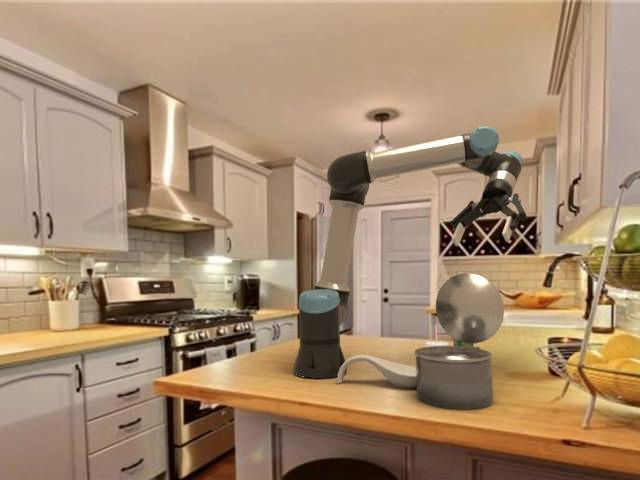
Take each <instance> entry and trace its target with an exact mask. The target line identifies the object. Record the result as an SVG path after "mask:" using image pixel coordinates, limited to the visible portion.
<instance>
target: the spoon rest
mask: <svg viewBox="0 0 640 480" xmlns="http://www.w3.org/2000/svg"><path fill="white" fill-rule="evenodd" d="M361 361H362V362H367V363H369V364H371V365H372V366H374V367H375V368H376V369H377V370H378V371H379V372H380V373H381V374H382V375H383V376H384V377H385V378H386V379H387V380H388V381H389V382H390V383H391V384H392V385H393V386H394V387H398V388H403V389H414V388H417V378H416V365H408V364H403V363H398V362H392V361H390V360H387V359H384V358H380V357H378V356H377V357H376V356H373V355H370V354H369V355H368V354H357V355H353V356H351V357H349V358H347V359H345V362H344V364H343V365H342V366H341V368H340V370H339V372H338V377H336V383H337V384H338V385H339V383H341V384H342V383H343V381H344V380H345V379H344V378H345V374H344V373H345V369H346V368H347V369H348V367H349V366H350V365H352V364H353V363H356V362H361Z"/></svg>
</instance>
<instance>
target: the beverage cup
mask: <svg viewBox="0 0 640 480" xmlns="http://www.w3.org/2000/svg"><path fill="white" fill-rule="evenodd" d="M434 329H435V334H434V336H435V340H434V341H433V340H432V341H426V342H425V343H424V345H425V346H424V347H431V346H450V345H449V344H450V343H449V342H446V341H439V340H438V324H436V323H435V324H434Z"/></svg>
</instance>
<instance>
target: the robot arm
mask: <svg viewBox="0 0 640 480" xmlns="http://www.w3.org/2000/svg"><path fill="white" fill-rule="evenodd" d="M499 143H500V136H499V133H498V132H497V130H496V129H495V128H493V127H492V126H491V127H490V126H489V125H488V126H487V125H484V126H483V125H482V126H479V127H477V128H475V129H474V130H473V131H472V132H471V133H465V134H460V135H455V136H451V137H446V138H440V139H436V140H431V141H427V142H422V143H417V144H410V145H406V146H400V147H396V148H391V149H385V150H382V151H375V152H371V151H369V150H362V151H357V152H353V153H349V154H344V155H341V156H339V157H337V158H335V159H334V160H333V161H332V162H331V163H330V165H329V166H328V168H327V172H326V178H327V179H326V180H327V183H328V185H329V187H330V190H329V191H330V193H329V197H328V203H329V205H330V206H331V214H330V219H329V220H330V221H329V224H328V225H329V226H328V233H327V238H326V244H325V250H324V255H323V262H322V268H321V274H320V279H319V280H318V281H317V282H316V283H315V284H314V287H313V289H311V290H305V291H303V292H301V293H300V294H299V298H298V299H299V300H298V308H299V309H298V310H299V311H298V312H299V313H298V314H299V315H298V316H299V317H298V318H299V320H298V323H299V347H298V351H297V354H296V358H295V361H294V364H293V374H294V373H295V374H297V375H300V376H304V377H311V378H310V379H315V378H322V379H332V378H331V377H333V378H337V376H338V372H339V370H340V368H341V366H342V365H343V364H344V362H345V361H346V357H345V355H344V353H343V350H342V346H341V326H342V325H343V324H345V322H346V320H347V319H348V316H349V312H350V306H349V301H350V293H351V289H350V287H348V284H347V282H348V279H349V271H350V265H351V258H352V252H353V247H354V246H353V245H354V240H355V235H356V234H355V233H356V228H357V223H358V222H357V221H358V217H359V212H360V211H361V210H362V209H364V208H365V203H366V197H367V195H368V194H369V193H368V192H369V189H370V184H373V183H374V182H375V181H376V180H377V179H382V178H387V177H392V176H398V175H404V174H409V173H413V172H419V171H423V170H429V169H433V168H440V167H444V166H449V165H455V164H457V165H458V166H460V167H462V168H466V169H468V170H471V171H472V172H473V171H474V172H476V173H478V174H480V175H483V176H486V177H488V180H487V181H486V184H485V186H484V190H483V192H482V195H481V199H480V200H479V201H478V202H475V201H474V200H471V201H469V202H468V204H467V206H465V208H464V209H462V210H461V211H460V212H459V213H458V214H457V215H455V216H454V218H453V219H452V220H451V221H450V224H451V226H452V227H453V230H452V233H453V235H452V237H451V241H452V242H453V244H454V246H455V247H458V246H459V245H460V243H461V240H462V238H463V235H464V233H465V231H466V230H465V228H467V226H469V225H471V224H472V223H473V222H475V221H476V220H477V219H479V218H483V217H484V216H486V215H490V214H497V213H498V212H500V213H502V214H503V215H505V216H506V217H507V219H506V221H505V225H504V228H503V230H502V233H501V235H502V237H503V238H504V240H505V243H506V242H510V239H511V236H512V234H513V231H516V230H517V227H518V224H519V223H520V221H524V222H525V221H527V220H528V216H527V214H526V212H525V211H526V210H525V209H524V208H523V206H522V204H521V203H522V202H521V201H522V200H521V198H520V195H519V193H518V192H517V193H514V189H515V187H516V185H517V182H518V179H519V177H520V174H521V172H522V170H523V169H522V168H523V163H524V160H523V157H522V156H521V154H520V153H518V152H516V151H514V150H505V151H503V152H501V153H500V152H497V148H498V145H499ZM513 193H514V194H513ZM510 203H511V204H512V205H514V206H515V208H516V211H517V212H518V213H517V212H516V211H514V210H513V209H512V208H510V207H509V205H510ZM347 373H348V367H347V368H346V369H345V373H344V375H346V374H347ZM295 374H294V375H295ZM297 375H296V376H297ZM304 377H303V378H304Z"/></svg>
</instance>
